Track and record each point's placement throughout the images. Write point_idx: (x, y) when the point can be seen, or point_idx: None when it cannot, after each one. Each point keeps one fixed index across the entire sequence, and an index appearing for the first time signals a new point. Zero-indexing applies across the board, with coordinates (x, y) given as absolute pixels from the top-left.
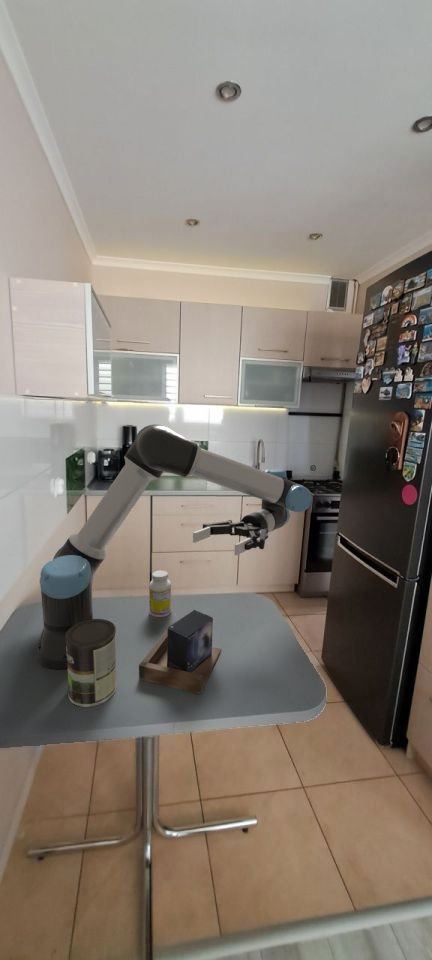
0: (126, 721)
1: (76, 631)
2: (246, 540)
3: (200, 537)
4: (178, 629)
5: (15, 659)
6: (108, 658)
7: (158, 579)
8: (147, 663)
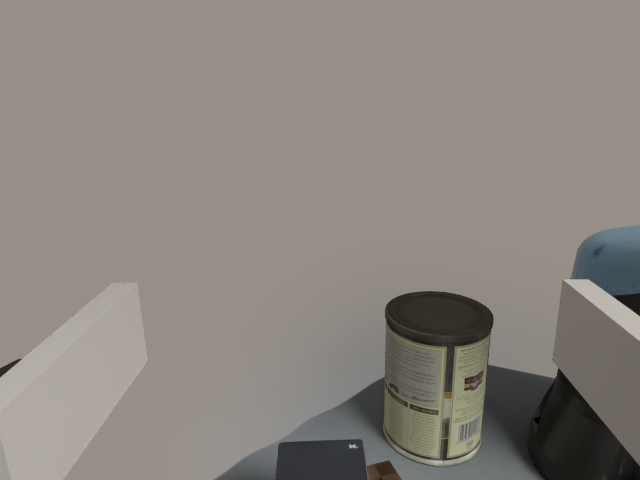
0: (313, 425)
1: (460, 304)
2: (33, 350)
3: (591, 374)
4: (325, 448)
5: None
6: (387, 355)
7: None
8: (378, 474)
